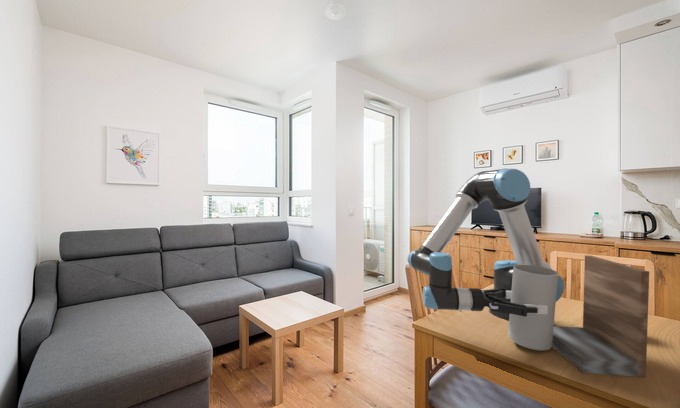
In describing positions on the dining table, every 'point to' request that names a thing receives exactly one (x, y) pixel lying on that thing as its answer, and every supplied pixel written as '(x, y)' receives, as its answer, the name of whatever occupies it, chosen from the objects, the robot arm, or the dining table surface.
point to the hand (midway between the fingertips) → (535, 302)
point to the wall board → (609, 321)
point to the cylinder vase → (537, 290)
